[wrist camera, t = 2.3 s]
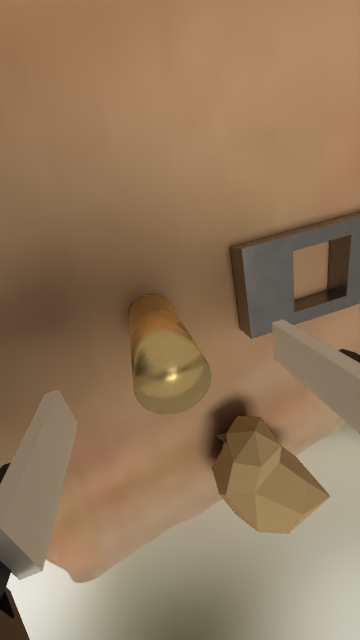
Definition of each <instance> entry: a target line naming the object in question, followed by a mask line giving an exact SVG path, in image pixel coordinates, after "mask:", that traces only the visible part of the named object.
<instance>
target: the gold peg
mask: <svg viewBox="0 0 360 640" xmlns="http://www.w3.org/2000/svg"><path fill="white" fill-rule="evenodd" d="M128 319H129V332H130V345H131V359H132V372H133V385H134V393H135V396H136V398H137V400H138V401H139V403H140V404H141V405H142V406H143V407H144V408H146V409H147V410H149V411H151V412H154V413H158V414H175V413H180V412H183V411H185V410H187V409H189V408H191V407H193V406H194V405H195V404H197V403H198V402H199V401H200V400H201V399H202V398H203V397H204V395H205V394H206V392H207V390H208V388H209V386H210V382H211V370H210V366H209V364H208V362H207V361H206V359H205V358H204V356H203V355H202V353H201V351H200V350H199V348H198V347H197V345H196V344H195V342H194V341H193V339H192V337H191V336H190V334H189V333H188V331H187V330H186V328H185V327H184V325H183V323H182V322H181V320H180V319H179V317H178V316H177V314H176V313H175V311H174V309H173V308H172V306H171V305H170V303H169V302H168V301H167V300H166V299H165V298H163V297H162V296H159V295H155V294H148V295H144V296H141V297H139V298H138V299H137V300H135V301H134V302H133V304H132V305H131V307H130V309H129V314H128Z"/></svg>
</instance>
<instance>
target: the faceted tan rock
mask: <svg viewBox="0 0 360 640" xmlns="http://www.w3.org/2000/svg"><path fill="white" fill-rule="evenodd" d="M215 436H216V437H218V438H219V439H221V440H222V441H223V442H224V444H223V448H222V450H221V452H220V454H219V456H218V458H217V459H216V461H215V463H214V465H213V467H212V470H213V473H214V477H215V480H216V484H217V487H218V491H219V494H220V495H221V497H222V498H223V499H224V500H225V502H226V503H227V504H228V505H229V506H230V508H231V509H232V510H233V511H234V513H235V514H236V515H237V516H238V517H240V518H241V519H242V520H244V521H245V522H246V523H247V524H249V525H250V526H251V527H253V528H254V529H255V530H256V531H258V532H271V533H285V534H288V533H290V532H291V531H292V530H293V529H294V528H295V527H296V526H297V525H299V524H300V523H301V522H302V521H303V520H304V519H305V518H307V517H308V516H309V515H310V514H311V513H312V512H313V511H314V510H315V509H317V508H318V507H319V506H320V505H321V504H322V503H324V502H325V501H326V500H327V499H328V498H329V497H330V496H329V494H328V493H327V492H326V491H325V489H324V488H323V487H322V486H321V485H320V484H319V483H318V481H317V480H316V479H315V478H314V477H313V476H312V475H311V473H310V472H309V471H308V470H307V469H306V468H305V467H304V466H303V464H302V463H301V462H300V461H299V460H298V459H297V457H296V456H294V455H293V454H292V453H290V452H289V451H288V450H286V449H285V448H284V447H282V446H281V444H280V443H279V442H278V440H277V439H276V438H275V436H274V435H273V434H272V432H271V431H270V429H269V428H268V427H267V425H266V424H265V423H264V421H263V420H262V419H261V417H245V416H237V417H236V419H235V420H234V422H233V424H232V425H231V427H230V428H229V430H228V432H227V433H223V434H217V435H215Z"/></svg>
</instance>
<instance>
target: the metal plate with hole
mask: <svg viewBox="0 0 360 640" xmlns="http://www.w3.org/2000/svg"><path fill="white" fill-rule="evenodd" d="M327 241H330V243H329V267H328V290H326V291H323V292H320V293H317V294H314V295H310V296H307V297H304V298H301V299H298V300H294V282H293V251H295V250H298V249H302V248H305V247H309V246H313V245H316V244H320V243H323V242H327ZM230 255H231V262H232V270H233V278H234V286H235V293H236V301H237V309H238V317H239V324H240V329H241V330H242V331H243V332H244V333H245V334H246V335H248V336H249V337H250V338H251V339H252V338H255V337H258V336H261V335H265V334H268V333H271V332H272V323H273V322H276V321H279V320H282V319H283V320H285V321H287V322H289V323H290V324H292V325H295V324H298V323H301V322H304V321H307V320H310V319H313V318H317V317H320V316H323V315H326V314H329V313H332V312H335V311H338V310H341V309H344V308H347V307H350V306H353V305H356V304H359V303H360V212H357V213H353V214H350V215H346V216H342V217H339V218H335V219H331V220H327V221H324V222H320V223H316V224H313V225H309V226H305V227H301V228H298V229H294V230H290V231H287V232H283V233H279V234H275V235H272V236H268V237H264V238H261V239H257V240H253V241H249V242H246V243H242V244H238V245H235V246H231V247H230Z"/></svg>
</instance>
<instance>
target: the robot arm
mask: <svg viewBox="0 0 360 640" xmlns="http://www.w3.org/2000/svg"><path fill="white" fill-rule="evenodd" d="M272 333H273V347H274V359H275V360H276V361H277V362H278V363H279V364H280V365H281V366H283V367H284V368H285V369H286V370H287V371H288V372H290V373H291V374H292V375H293V376H294V377H295V378H296V379H298V380H299V381H300V382H301V383H302V384H303V385H304V386H306V387H307V388H308V389H309V390H310V391H311V392H312V393H314V394H315V395H316V396H317V397H318V398H319V399H320V400H322V401H323V402H324V403H325V404H326V405H327V406H329V407H330V408H331V409H332V410H333V411H334V412H335V413H337V414H338V415H339V416H340V417H341V418H342V419H343V420H345V421H346V422H347V423H348V424H349V425H350V426H352V427H353V428H354V429H355V430H356V431H357V432H358V433H360V355H359V354H357V353H355V352H351V351H348V350H344V349H341V350H336V349H334V348H332V347H331V346H329V345H327V344H325V343H324V342H322V341H320V340H318V339H317V338H315V337H313V336H311V335H310V334H308V333H306V332H304V331H303V330H301V329H299V328H297V327H296V326H294V325H292V324H290V323H289V322H287V321H285V320H283V319H282V320H279V321H276V322H273V323H272ZM77 427H78V423H77V422H76V420H75V418H74V416H73V414H72V413H71V411H70V409H69V407H68V405H67V403H66V402H65V400H64V398H63V396H62V394H61V393H60V391H59V390H56V391H52V392H49V393H46V394H45V395H44V397H43V399H42V401H41V403H40V405H39V407H38V409H37V411H36V413H35V415H34V417H33V419H32V421H31V423H30V425H29V427H28V429H27V431H26V433H25V435H24V437H23V439H22V441H21V443H20V445H19V447H18V449H17V451H16V453H15V455H14V457H13V459H12V462H11V463H8V464H5V465H3V466H2V467H1V468H0V640H30V639H29V637H28V634H27V632H26V629H25V627H24V624H23V622H22V619H21V617H20V614H19V612H18V609H17V607H16V605H15V602H14V599H13V597H12V594H11V592H10V590H9V589H8V588H7V587H6V585H7V582H8V579H9V576H10V573H13V574H14V575H15V576H16V577H17V578H18V579H19V580H21V579H23V578H26V577H28V576H30V575H33V574H36V573H38V572H41V571H42V570H43V566H44V562H45V558H46V554H47V550H48V546H49V542H50V537H51V533H52V529H53V525H54V521H55V517H56V513H57V509H58V505H59V501H60V497H61V493H62V488H63V484H64V480H65V476H66V472H67V468H68V464H69V460H70V456H71V452H72V448H73V444H74V439H75V435H76V431H77Z"/></svg>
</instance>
